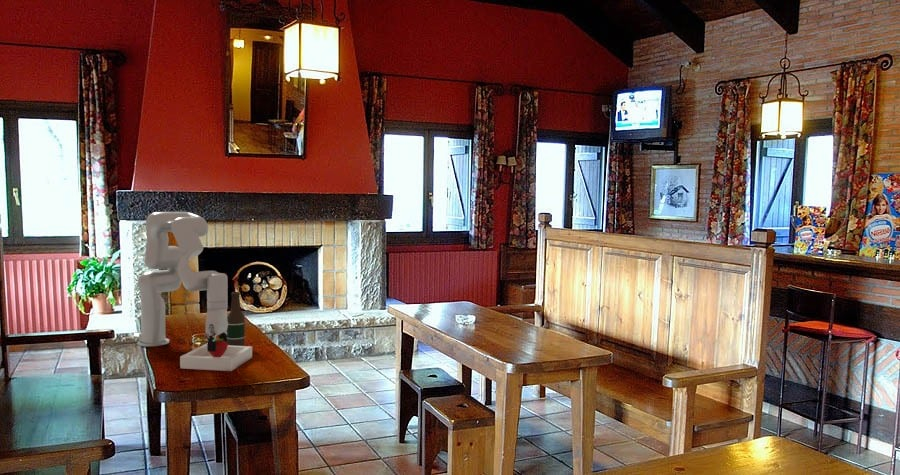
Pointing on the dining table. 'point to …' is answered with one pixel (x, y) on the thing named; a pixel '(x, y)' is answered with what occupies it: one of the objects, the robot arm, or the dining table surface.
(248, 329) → the dining table surface
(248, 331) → the dining table surface
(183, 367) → the tray
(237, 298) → the beer bottle
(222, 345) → the strawberry
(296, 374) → the dining table surface
